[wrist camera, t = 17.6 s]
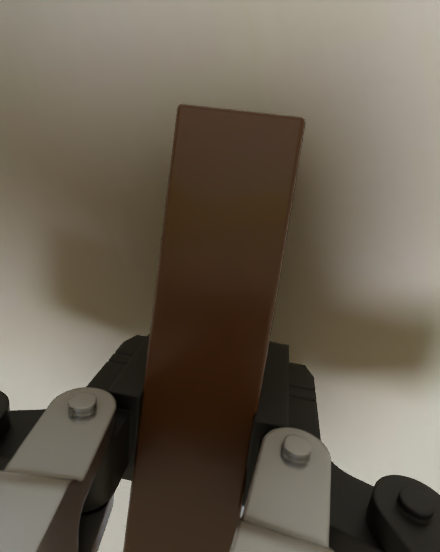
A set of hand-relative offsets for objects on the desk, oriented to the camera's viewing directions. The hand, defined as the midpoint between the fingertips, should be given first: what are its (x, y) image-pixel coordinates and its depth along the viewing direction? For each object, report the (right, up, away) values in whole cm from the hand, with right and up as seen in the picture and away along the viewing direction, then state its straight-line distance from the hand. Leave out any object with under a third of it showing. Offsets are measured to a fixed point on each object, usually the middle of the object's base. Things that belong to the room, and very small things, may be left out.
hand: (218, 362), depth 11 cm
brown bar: (0, -3, +1) cm, 3 cm away
